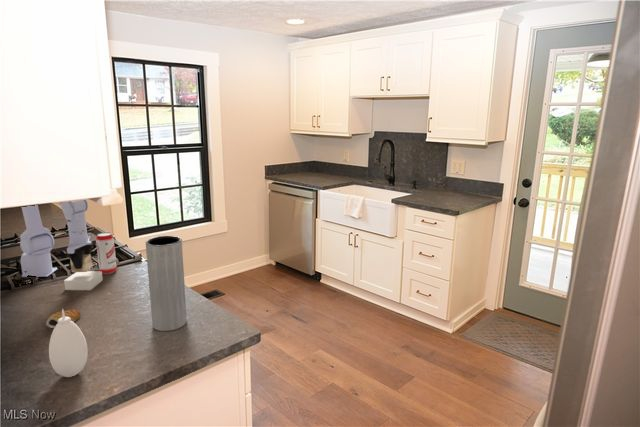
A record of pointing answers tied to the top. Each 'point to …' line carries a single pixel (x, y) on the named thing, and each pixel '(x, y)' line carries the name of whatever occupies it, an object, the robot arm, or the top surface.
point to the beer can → (106, 253)
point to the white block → (83, 280)
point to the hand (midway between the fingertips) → (82, 265)
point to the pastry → (54, 318)
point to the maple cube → (86, 264)
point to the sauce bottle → (67, 348)
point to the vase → (166, 282)
